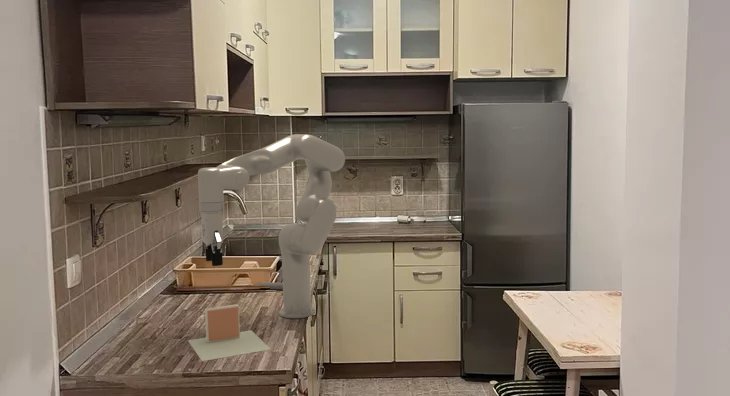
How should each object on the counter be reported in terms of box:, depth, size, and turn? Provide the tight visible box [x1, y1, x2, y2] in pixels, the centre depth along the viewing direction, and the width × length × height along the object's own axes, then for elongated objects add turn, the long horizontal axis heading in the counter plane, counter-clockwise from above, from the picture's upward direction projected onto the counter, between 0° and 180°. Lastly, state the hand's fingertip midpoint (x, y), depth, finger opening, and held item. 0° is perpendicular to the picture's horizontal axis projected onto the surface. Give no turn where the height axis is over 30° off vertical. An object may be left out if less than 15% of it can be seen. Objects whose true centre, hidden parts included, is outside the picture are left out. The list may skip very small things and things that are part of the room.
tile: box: [204, 303, 241, 342], centre depth 201 cm, size 2×10×10 cm, turn 116°
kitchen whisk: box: [255, 277, 334, 295], centre depth 260 cm, size 6×34×6 cm, turn 71°
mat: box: [187, 329, 271, 362], centre depth 196 cm, size 20×20×1 cm
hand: (214, 262), depth 206 cm, fingers open, 7 cm apart
